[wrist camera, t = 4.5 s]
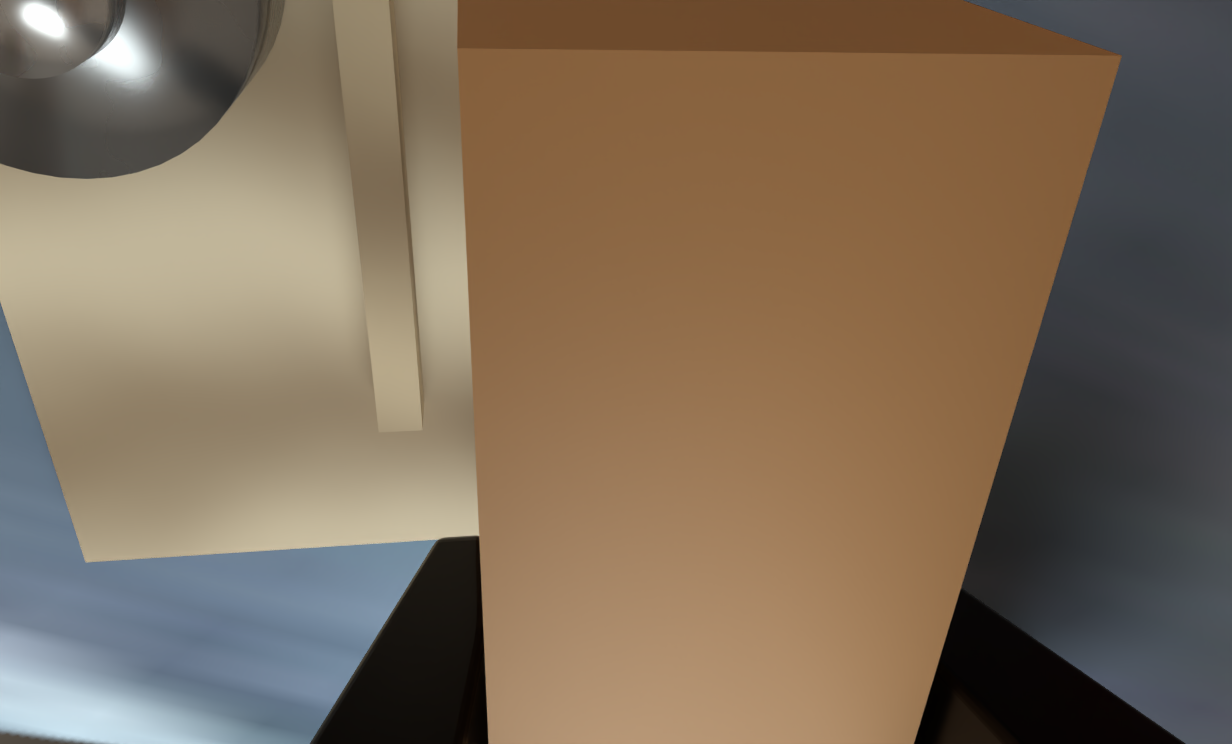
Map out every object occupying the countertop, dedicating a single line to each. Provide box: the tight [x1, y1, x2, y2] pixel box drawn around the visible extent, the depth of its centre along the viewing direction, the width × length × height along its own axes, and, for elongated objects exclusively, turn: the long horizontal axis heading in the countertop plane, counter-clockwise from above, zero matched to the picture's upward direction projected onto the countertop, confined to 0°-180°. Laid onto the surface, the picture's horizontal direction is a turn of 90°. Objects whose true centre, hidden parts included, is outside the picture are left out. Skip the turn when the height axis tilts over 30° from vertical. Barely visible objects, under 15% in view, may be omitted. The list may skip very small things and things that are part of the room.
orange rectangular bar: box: [457, 0, 1122, 744], centre depth 8 cm, size 10×3×4 cm, turn 178°
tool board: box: [0, 0, 479, 562], centre depth 15 cm, size 18×13×4 cm
